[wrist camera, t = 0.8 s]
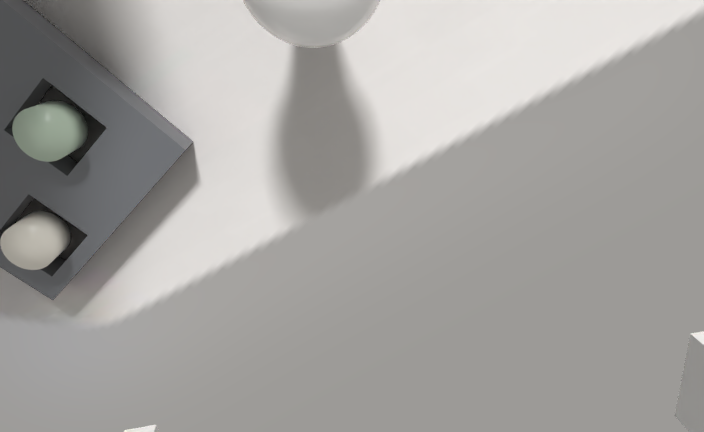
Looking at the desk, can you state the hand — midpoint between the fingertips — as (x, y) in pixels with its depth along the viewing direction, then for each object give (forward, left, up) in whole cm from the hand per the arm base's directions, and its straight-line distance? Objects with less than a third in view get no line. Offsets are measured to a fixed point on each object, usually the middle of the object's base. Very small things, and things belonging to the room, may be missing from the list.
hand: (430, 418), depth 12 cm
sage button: (-15, -10, -20) cm, 27 cm away
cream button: (-12, -17, -20) cm, 29 cm away
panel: (-15, -13, -22) cm, 29 cm away
